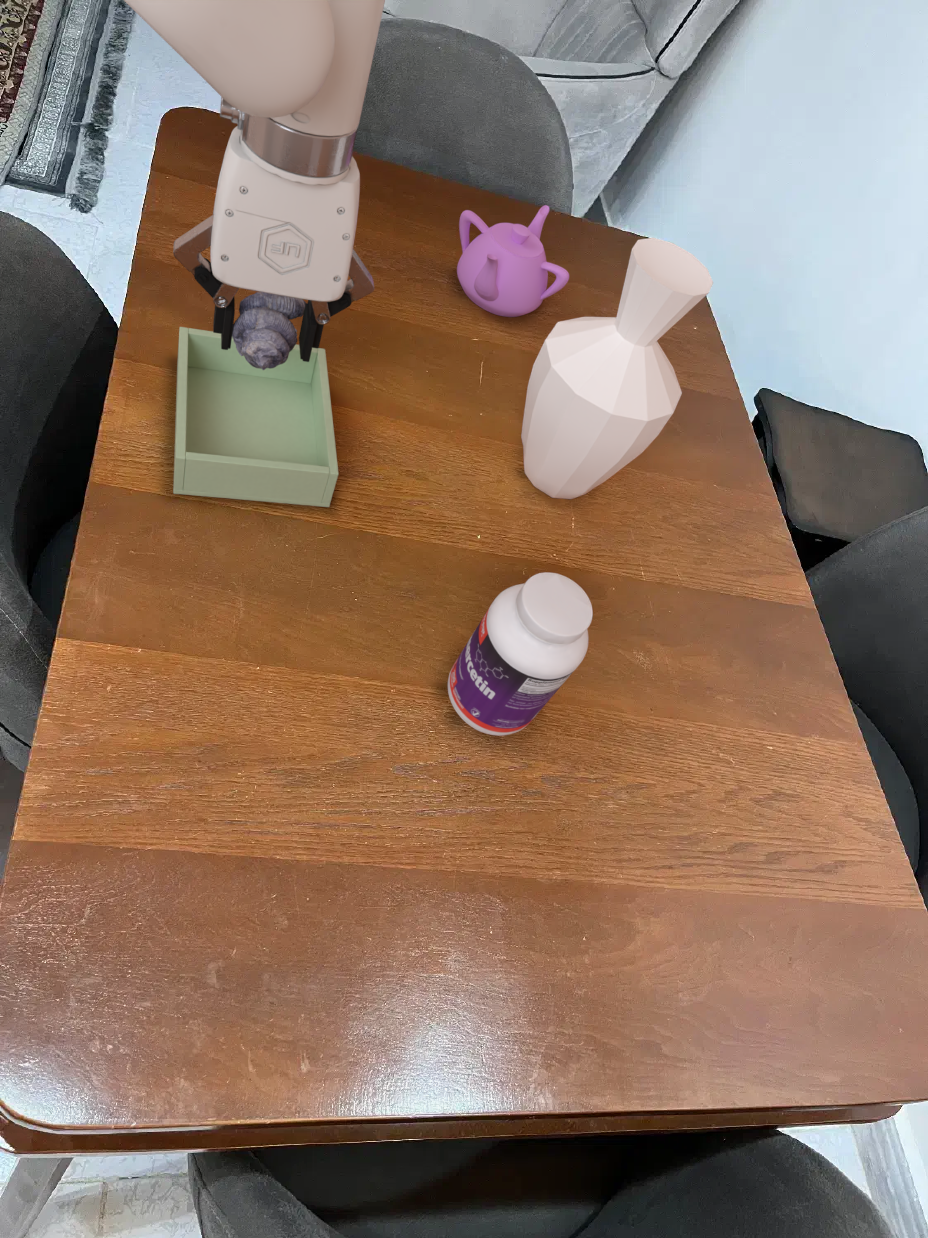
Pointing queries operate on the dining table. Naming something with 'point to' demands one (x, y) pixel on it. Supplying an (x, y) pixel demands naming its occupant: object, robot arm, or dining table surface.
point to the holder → (252, 425)
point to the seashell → (266, 328)
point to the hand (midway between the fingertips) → (265, 343)
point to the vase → (609, 376)
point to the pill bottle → (521, 653)
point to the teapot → (506, 266)
